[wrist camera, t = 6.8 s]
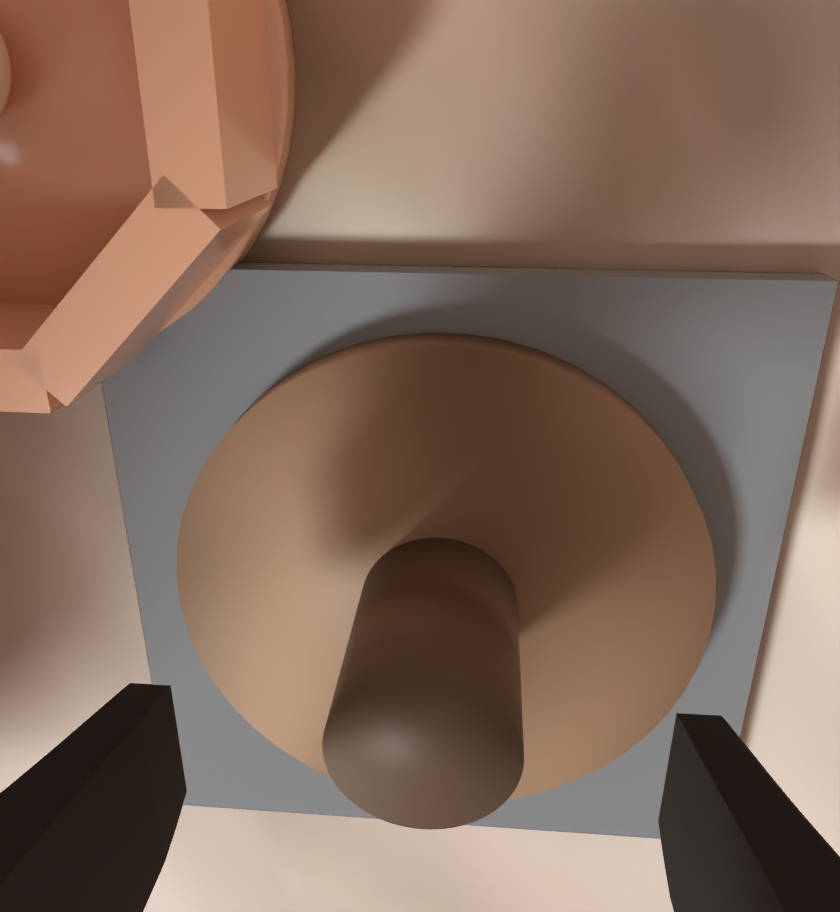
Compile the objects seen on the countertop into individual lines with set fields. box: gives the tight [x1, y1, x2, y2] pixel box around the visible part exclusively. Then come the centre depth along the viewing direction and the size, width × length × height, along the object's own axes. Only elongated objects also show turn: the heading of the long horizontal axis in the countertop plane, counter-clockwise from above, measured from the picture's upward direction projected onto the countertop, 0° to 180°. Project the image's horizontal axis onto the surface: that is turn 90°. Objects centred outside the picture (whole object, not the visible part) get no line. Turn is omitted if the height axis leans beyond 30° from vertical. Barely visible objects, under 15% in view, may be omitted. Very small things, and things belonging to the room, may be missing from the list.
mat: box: [102, 263, 838, 839], centre depth 15 cm, size 12×12×1 cm
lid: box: [176, 332, 716, 829], centre depth 13 cm, size 10×10×4 cm
